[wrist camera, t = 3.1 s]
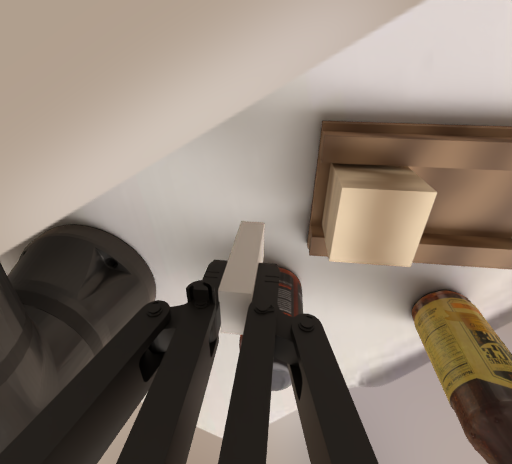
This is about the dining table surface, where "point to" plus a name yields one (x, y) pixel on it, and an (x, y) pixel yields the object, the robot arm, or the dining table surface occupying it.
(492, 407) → the sauce bottle
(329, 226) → the block
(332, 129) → the walnut chute
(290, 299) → the supplement bottle
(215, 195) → the dining table surface
